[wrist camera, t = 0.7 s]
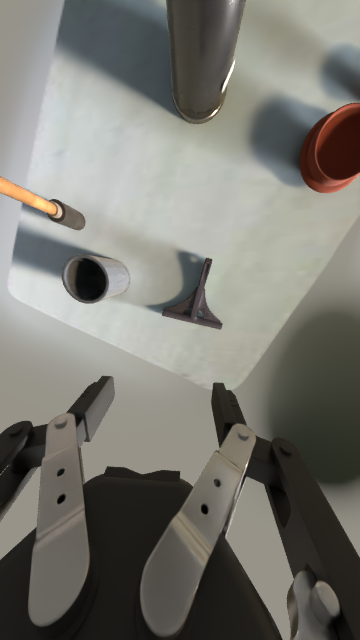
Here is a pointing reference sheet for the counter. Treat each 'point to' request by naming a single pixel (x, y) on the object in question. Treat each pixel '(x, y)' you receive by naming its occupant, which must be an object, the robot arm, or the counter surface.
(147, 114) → the counter surface
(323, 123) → the pottery
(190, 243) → the counter surface
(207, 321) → the bracket
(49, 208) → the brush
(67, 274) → the grey metal cup
